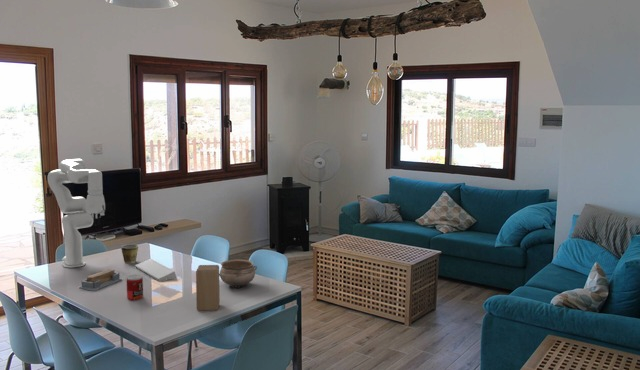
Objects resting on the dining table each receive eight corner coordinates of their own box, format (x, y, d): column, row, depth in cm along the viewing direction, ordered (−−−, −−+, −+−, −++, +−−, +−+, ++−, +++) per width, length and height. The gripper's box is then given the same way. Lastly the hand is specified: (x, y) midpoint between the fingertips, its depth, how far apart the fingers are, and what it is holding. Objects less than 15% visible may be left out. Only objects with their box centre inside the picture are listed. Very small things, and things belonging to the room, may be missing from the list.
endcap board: (79, 288, 295) (78, 281, 295) (107, 277, 315) (107, 270, 314) (93, 290, 292) (93, 283, 291) (122, 279, 311) (121, 273, 311)
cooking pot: (247, 277, 319) (247, 256, 317) (266, 285, 305) (266, 263, 303) (208, 285, 303) (208, 263, 301) (226, 294, 288) (226, 271, 287)
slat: (87, 286, 297) (86, 276, 296) (108, 277, 311) (108, 269, 311) (93, 286, 295) (92, 277, 294) (114, 278, 310) (114, 270, 309)
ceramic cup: (141, 262, 347) (141, 246, 346) (126, 265, 340) (126, 249, 339) (131, 258, 356) (130, 242, 355) (116, 261, 349) (115, 245, 348)
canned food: (134, 301, 276) (133, 280, 275) (123, 298, 280) (122, 277, 279) (146, 297, 282) (146, 276, 281) (135, 294, 287) (135, 273, 285)
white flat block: (160, 286, 310) (176, 278, 315) (158, 278, 308) (174, 271, 314) (137, 272, 336) (152, 265, 341) (135, 265, 334) (150, 258, 340)
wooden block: (199, 304, 274) (198, 264, 271) (219, 303, 274) (219, 264, 272) (196, 311, 264) (195, 270, 261) (217, 311, 265) (217, 270, 262)
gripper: (80, 192, 312) (81, 225, 314) (101, 194, 307) (102, 227, 309) (90, 191, 319) (91, 222, 321) (110, 192, 314) (111, 225, 316)
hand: (96, 225), depth 315 cm, fingers closed
